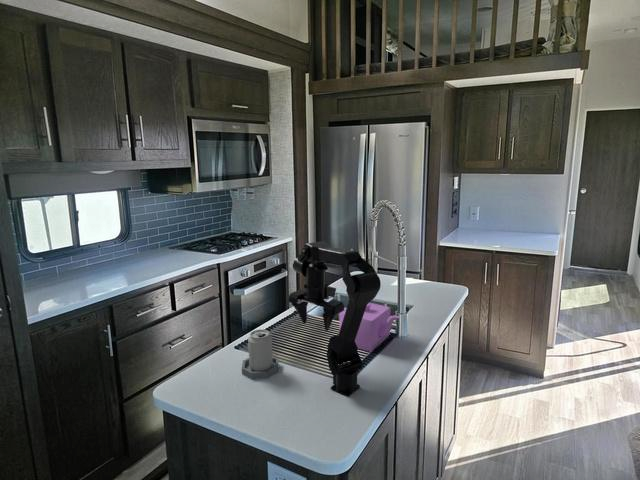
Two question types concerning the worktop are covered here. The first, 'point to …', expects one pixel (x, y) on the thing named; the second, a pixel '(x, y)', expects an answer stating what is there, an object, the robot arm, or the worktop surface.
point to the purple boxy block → (373, 326)
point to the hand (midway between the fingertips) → (315, 326)
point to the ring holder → (261, 374)
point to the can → (260, 350)
